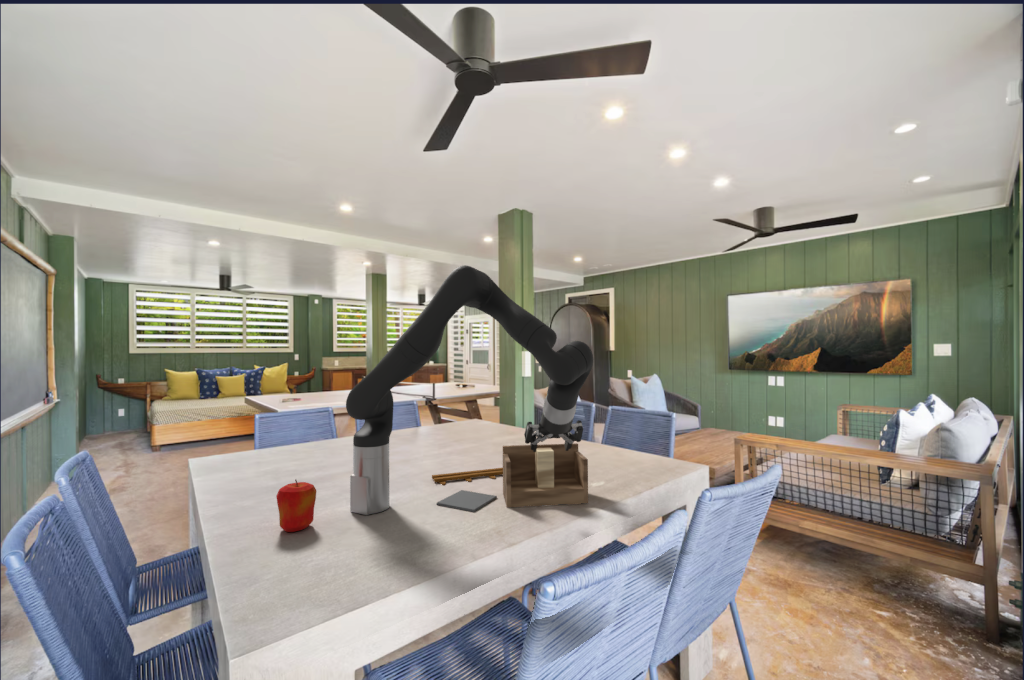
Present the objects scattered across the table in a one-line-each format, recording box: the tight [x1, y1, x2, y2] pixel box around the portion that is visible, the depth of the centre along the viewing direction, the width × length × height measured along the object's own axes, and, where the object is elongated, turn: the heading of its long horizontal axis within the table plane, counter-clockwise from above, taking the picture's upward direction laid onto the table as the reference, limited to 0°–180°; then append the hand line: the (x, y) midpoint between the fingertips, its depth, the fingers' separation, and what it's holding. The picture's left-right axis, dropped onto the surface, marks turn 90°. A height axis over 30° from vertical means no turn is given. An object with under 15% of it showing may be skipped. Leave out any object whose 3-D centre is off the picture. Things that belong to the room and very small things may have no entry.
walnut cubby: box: [502, 442, 589, 508], centre depth 125 cm, size 11×22×14 cm, turn 96°
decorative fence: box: [431, 467, 503, 486], centre depth 146 cm, size 25×2×10 cm
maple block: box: [535, 448, 554, 488], centre depth 124 cm, size 4×4×10 cm
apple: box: [275, 479, 317, 533], centre depth 105 cm, size 9×8×12 cm
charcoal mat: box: [436, 489, 498, 513], centre depth 123 cm, size 12×12×1 cm
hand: (550, 448), depth 115 cm, fingers open, 8 cm apart
